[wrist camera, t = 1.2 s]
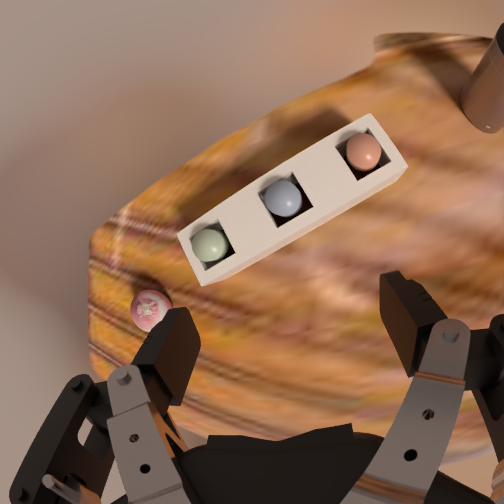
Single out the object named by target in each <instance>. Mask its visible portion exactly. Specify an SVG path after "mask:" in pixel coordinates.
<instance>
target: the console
mask: <svg viewBox="0 0 504 504" xmlns="http://www.w3.org/2000/svg"><path fill="white" fill-rule="evenodd" d="M358 133H366V134H369V135H371V136H373V137H374V138H375V139H376V140H377V141H378V142H379V144H380V147H381V155H380V158H379V161H378V164H379V165H380V167H381V168H379V169H378V170H376V171H374V172H372V173H371V174H369V175H367V176H366V177H364V178H362V179H360V180H359V181H357V180H356V178H355V177H354V175H353V173H352V172H351V170H350V169H349V167H348V166H347V164H346V163H345V161H344V160H343V158H342V157H343V156H345V155H347V143H348V141H349V139H350V138H351V137H352V136H353V135H355V134H358ZM407 168H408V165H407V164H406V162H405V161H404V159H403V158H402V156H401V155H400V153H399V152H398V150H397V149H396V147H395V146H394V144H393V143H392V141H391V140H390V138H389V137H388V136H387V134H386V133H385V131H384V130H383V129H382V127H381V126H380V125H379V123H378V122H377V121H376V119H375V118H374V117H373V116H372V114H371V113H369V114H367V115H365V116H363V117H361V118H359V119H358V120H356V121H354V122H352V123H350V124H348V125H347V126H345V127H343V128H341V129H339V130H338V131H336V132H334V133H332V134H331V135H329V136H327V137H325V138H324V139H322V140H320V141H318V142H317V143H315V144H313V145H312V146H310V147H308V148H307V149H305V150H303V151H302V152H300V153H298V154H297V155H295V156H293V157H292V158H290V159H288V160H287V161H285V162H283V163H282V164H280V165H279V166H277V167H275V168H274V169H272V170H271V171H269V172H267V173H266V174H264V175H263V176H261V177H260V178H258V179H256V180H255V181H253V182H252V183H250V184H249V185H247V186H246V187H244V188H243V189H241V190H240V191H238V192H237V193H235V194H234V195H232V196H231V197H229V198H228V199H226V200H225V201H223V202H222V203H220V204H219V205H217V206H216V207H214V208H213V209H211V210H210V211H208V212H207V213H206V214H204V215H203V216H201V217H200V218H198V219H197V220H195V221H194V222H193V223H191V224H190V225H188V226H187V227H186V228H184V229H183V230H181V231H180V232H179V233H177V236H178V239H179V241H180V243H181V245H182V247H183V249H184V251H185V254H186V256H187V258H188V260H189V262H190V264H191V266H192V268H193V270H194V272H195V274H196V276H197V278H198V280H199V282H200V284H201V286H205V285H208V284H211V283H215V282H218V281H221V280H224V279H227V278H229V277H231V276H232V275H234V274H236V273H238V272H239V271H241V270H243V269H245V268H247V267H248V266H250V265H252V264H254V263H255V262H257V261H259V260H261V259H262V258H264V257H266V256H268V255H269V254H271V253H273V252H275V251H277V250H278V249H280V248H282V247H284V246H285V245H287V244H289V243H291V242H292V241H294V240H296V239H298V238H299V237H301V236H303V235H304V234H306V233H308V232H310V231H311V230H313V229H315V228H317V227H318V226H320V225H322V224H324V223H325V222H327V221H329V220H331V219H332V218H334V217H336V216H337V215H339V214H341V213H343V212H344V211H346V210H348V209H349V208H351V207H353V206H355V205H356V204H358V203H360V202H361V201H363V200H365V199H367V198H368V197H370V196H372V195H373V194H375V193H377V192H379V191H380V190H382V189H384V188H385V187H387V186H389V185H390V184H392V183H394V182H396V181H397V180H398V179H399V177H400V176H401V175H402V174H403V172H404V171H405V170H406V169H407ZM280 180H285V181H289V182H291V183H292V184H294V185H296V184H297V183H300V185H301V187H302V188H303V190H304V192H305V193H306V195H307V197H308V198H309V200H310V202H311V203H312V205H313V208H311V209H309V210H307V211H306V212H304V213H302V214H301V215H299V216H297V217H296V218H294V219H292V220H290V221H289V222H287V223H285V224H284V225H282V226H280V227H279V228H278V226H277V224H276V223H275V221H274V219H273V217H272V215H271V214H270V212H269V210H268V208H267V207H266V205H265V193H266V190H267V189H268V187H269V186H270V185H271V184H272V183H274V182H276V181H280ZM203 229H210V230H219V231H222V230H224V231H225V233H226V235H227V237H228V239H229V241H230V243H231V245H232V247H233V249H234V251H235V254H233V255H231V256H230V257H228V258H226V259H225V260H223V259H222V258H221V259H219V260H214V261H208V262H205V261H201V260H199V259H198V258H197V257H196V256H195V255H194V253H193V250H192V241H193V238H194V236H195V234H196V233H197V232H199V231H200V230H203Z"/></svg>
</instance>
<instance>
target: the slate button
mask: <svg viewBox="0 0 504 504" xmlns="http://www.w3.org/2000/svg"><path fill="white" fill-rule="evenodd" d="M265 203H266V206H267V208H268V209H269V210H270V211H271V212H272V213H274V214H277V215H279V216H282V217H291V216H293V215H295V214H296V213H298V212H299V210H300V209H301V207H302V203H303V198H302V194H301V192H300V191H299V190H298V189H297V188H296V186H295V185H294V184H292V183H291V182H289V181H285V180H280V181H276V182H274V183H272V184H271V185H270V186H269V187H268V189H267V190H266V193H265Z"/></svg>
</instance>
